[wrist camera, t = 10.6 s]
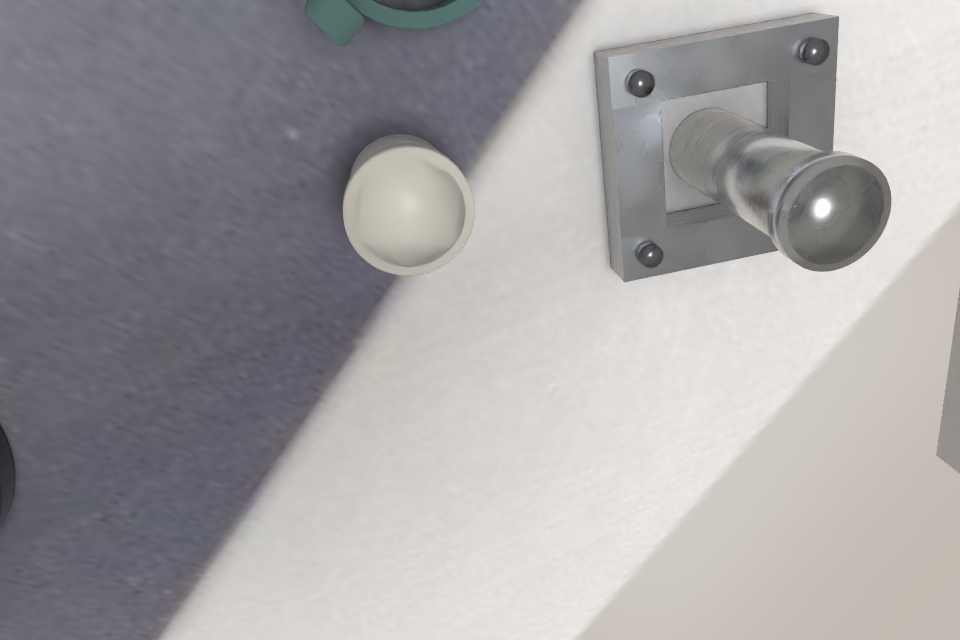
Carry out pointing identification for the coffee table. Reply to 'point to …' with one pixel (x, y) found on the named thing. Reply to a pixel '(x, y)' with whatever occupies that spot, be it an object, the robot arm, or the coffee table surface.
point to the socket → (689, 71)
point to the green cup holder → (380, 15)
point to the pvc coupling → (407, 206)
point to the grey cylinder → (785, 187)
